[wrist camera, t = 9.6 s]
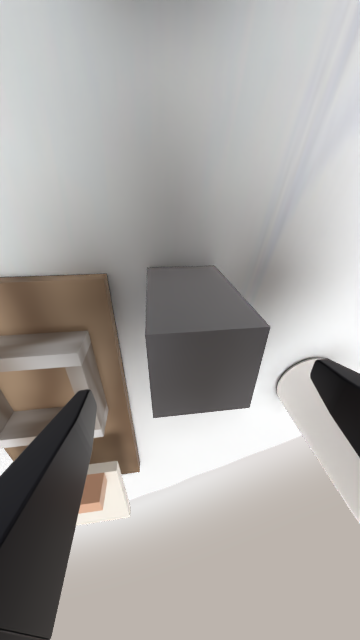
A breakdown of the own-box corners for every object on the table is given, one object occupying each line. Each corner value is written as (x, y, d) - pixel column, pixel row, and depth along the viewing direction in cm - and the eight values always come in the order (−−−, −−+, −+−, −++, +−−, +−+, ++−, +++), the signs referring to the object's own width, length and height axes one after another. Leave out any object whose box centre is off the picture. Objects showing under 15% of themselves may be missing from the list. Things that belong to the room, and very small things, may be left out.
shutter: (117, 460, 19) (112, 500, 16) (130, 508, 24) (128, 543, 21) (-7, 476, 18) (-32, 521, 15) (34, 522, 23) (21, 561, 20)
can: (267, 402, 23) (359, 566, 13) (285, 356, 20) (428, 526, 10) (320, 399, 24) (446, 549, 14) (346, 354, 21) (535, 508, 11)
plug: (214, 265, 15) (270, 326, 8) (209, 322, 17) (249, 407, 10) (147, 267, 14) (145, 334, 7) (151, 326, 17) (153, 418, 10)
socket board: (106, 273, 14) (94, 295, 11) (139, 462, 26) (138, 497, 23) (-100, 280, 13) (-176, 307, 10) (36, 476, 25) (20, 514, 22)
